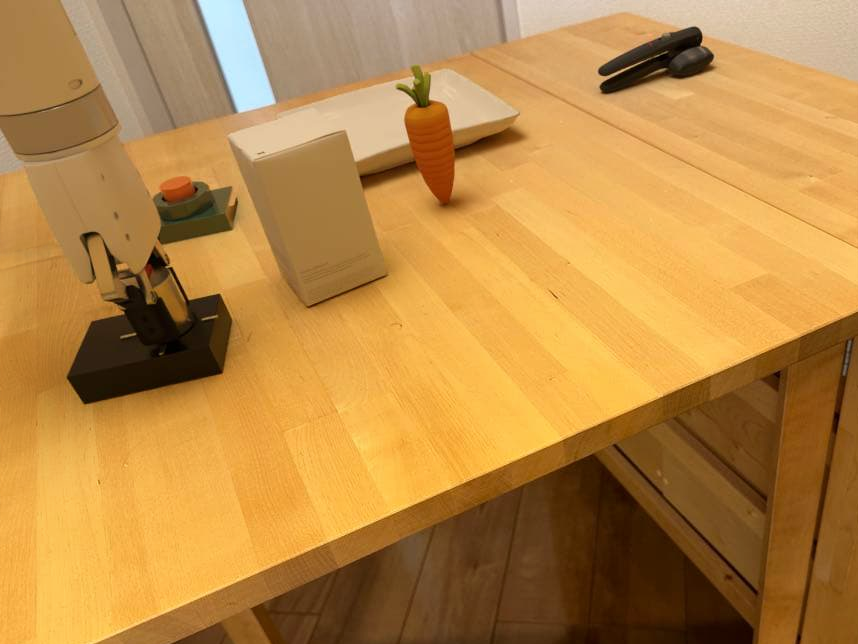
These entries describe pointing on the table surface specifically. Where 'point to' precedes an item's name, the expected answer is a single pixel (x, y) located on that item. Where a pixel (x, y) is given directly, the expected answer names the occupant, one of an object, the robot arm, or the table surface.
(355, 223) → the white product box
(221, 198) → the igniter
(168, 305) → the burner knob
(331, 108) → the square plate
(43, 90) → the robot arm
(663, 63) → the can opener
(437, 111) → the carrot
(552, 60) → the table surface
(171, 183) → the button
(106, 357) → the stove panel
